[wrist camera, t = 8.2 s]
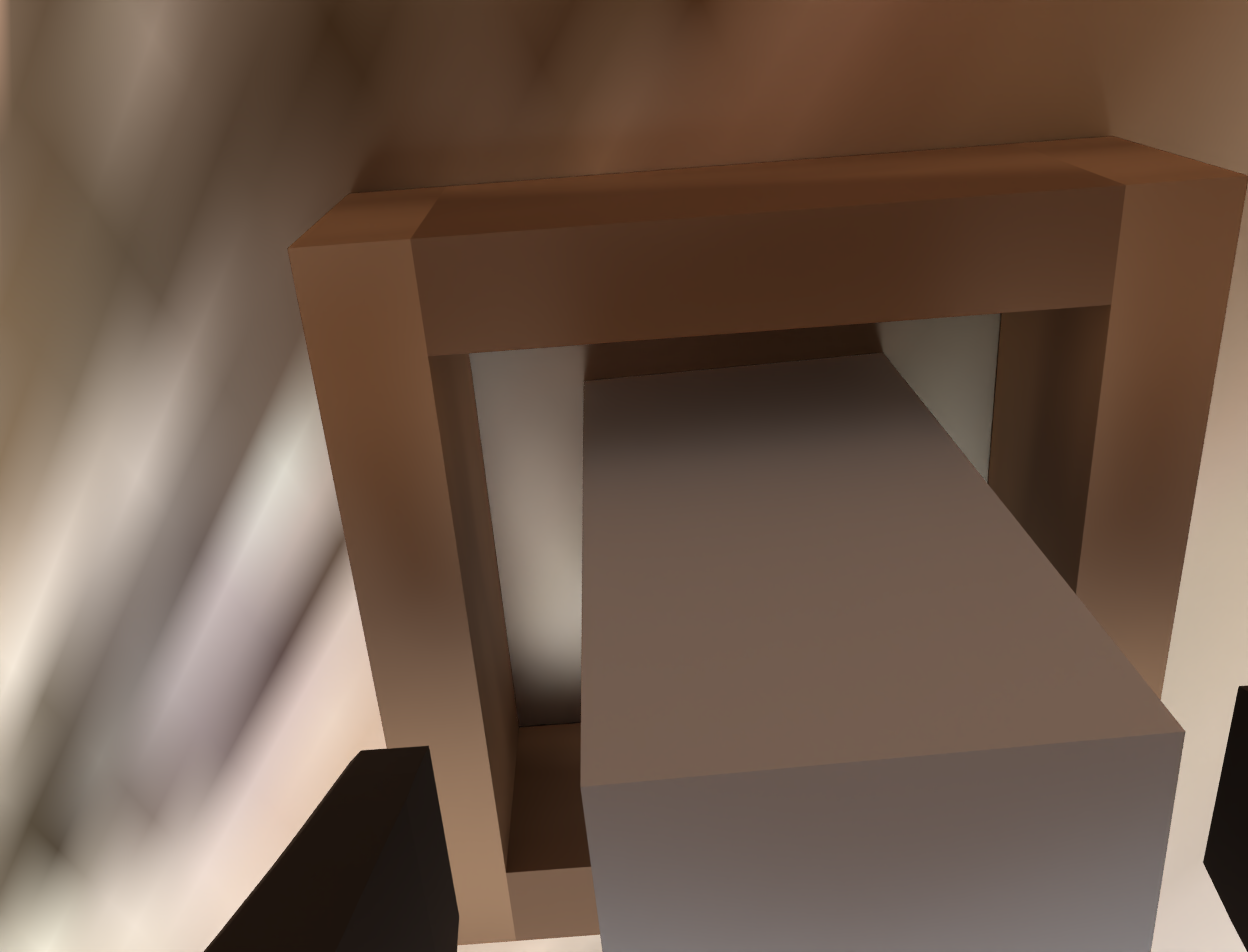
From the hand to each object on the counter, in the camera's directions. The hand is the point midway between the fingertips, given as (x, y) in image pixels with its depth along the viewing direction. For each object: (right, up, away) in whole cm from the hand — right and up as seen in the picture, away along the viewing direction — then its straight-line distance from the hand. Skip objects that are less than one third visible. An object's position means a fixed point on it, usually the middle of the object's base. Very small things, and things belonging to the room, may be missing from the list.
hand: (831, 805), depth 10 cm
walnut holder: (0, +3, +5) cm, 6 cm away
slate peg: (0, +3, +5) cm, 6 cm away
